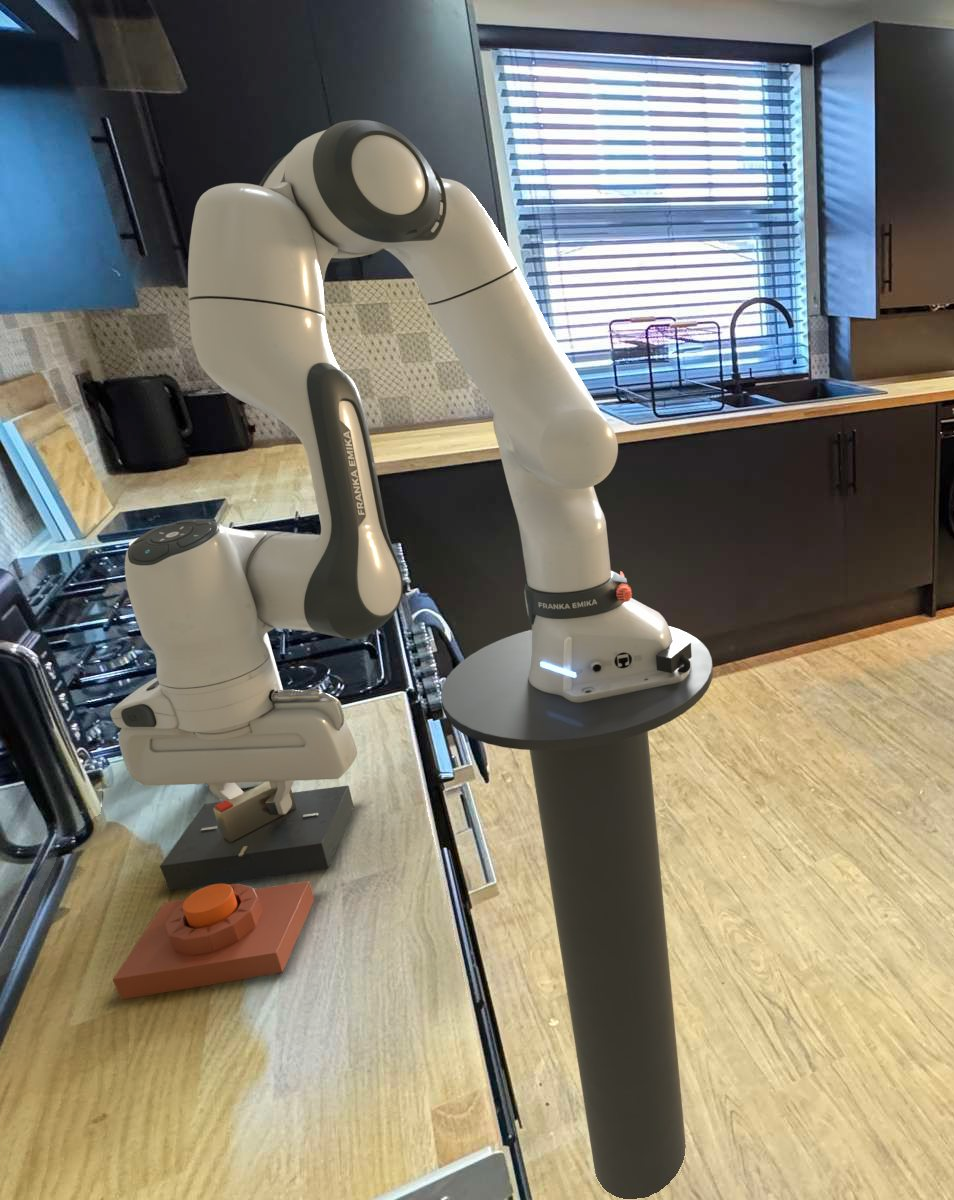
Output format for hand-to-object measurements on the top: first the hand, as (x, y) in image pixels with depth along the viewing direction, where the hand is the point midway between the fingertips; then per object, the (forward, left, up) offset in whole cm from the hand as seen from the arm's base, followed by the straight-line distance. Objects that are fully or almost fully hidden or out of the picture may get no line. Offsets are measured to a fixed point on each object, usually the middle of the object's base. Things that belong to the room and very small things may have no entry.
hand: (263, 811), depth 85 cm
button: (-1, +14, 0) cm, 14 cm away
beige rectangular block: (0, 0, -1) cm, 1 cm away
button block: (-1, +14, -4) cm, 15 cm away
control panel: (0, 0, -4) cm, 4 cm away
